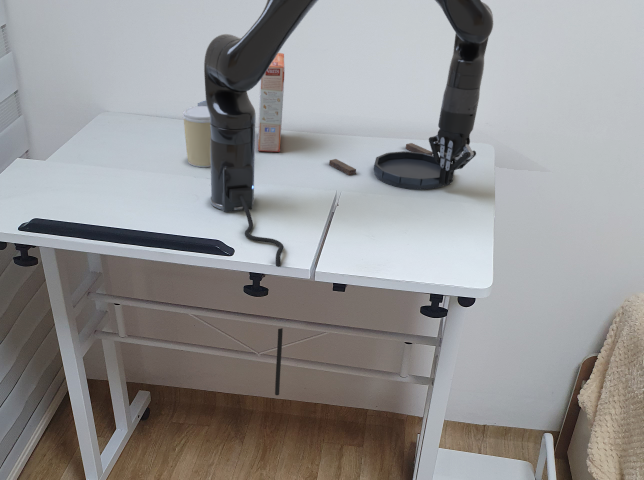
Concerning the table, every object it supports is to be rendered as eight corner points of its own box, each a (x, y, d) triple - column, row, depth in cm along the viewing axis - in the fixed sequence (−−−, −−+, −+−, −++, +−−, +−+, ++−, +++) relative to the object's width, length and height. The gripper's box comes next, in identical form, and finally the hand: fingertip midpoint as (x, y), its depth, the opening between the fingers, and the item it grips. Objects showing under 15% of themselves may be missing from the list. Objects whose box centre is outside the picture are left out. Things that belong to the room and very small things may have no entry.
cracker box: (281, 153, 183) (285, 65, 170) (257, 152, 183) (259, 64, 170) (281, 135, 194) (284, 52, 182) (258, 134, 194) (261, 51, 182)
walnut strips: (432, 156, 184) (433, 152, 183) (349, 175, 172) (349, 170, 171) (411, 147, 189) (411, 142, 189) (329, 164, 177) (329, 160, 176)
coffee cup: (225, 156, 180) (225, 106, 173) (219, 169, 172) (219, 118, 165) (188, 153, 180) (186, 104, 173) (181, 167, 173) (179, 116, 166)
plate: (463, 185, 169) (465, 174, 167) (394, 192, 164) (395, 181, 163) (426, 159, 183) (428, 149, 181) (361, 165, 178) (363, 154, 176)
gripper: (425, 101, 157) (413, 177, 168) (469, 117, 149) (453, 197, 159) (450, 96, 161) (436, 172, 171) (494, 112, 152) (477, 191, 162)
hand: (444, 184), depth 165 cm, fingers closed
